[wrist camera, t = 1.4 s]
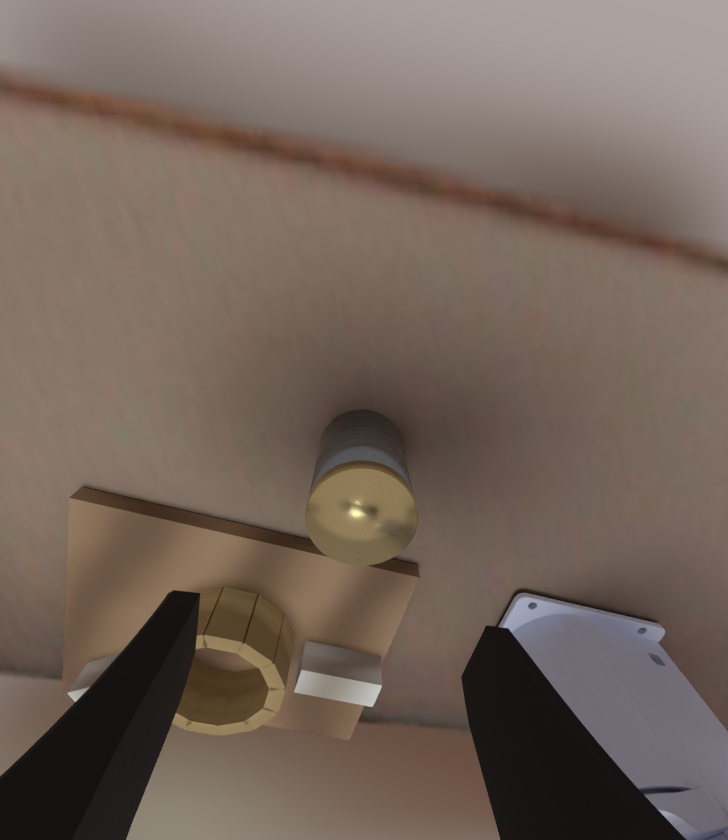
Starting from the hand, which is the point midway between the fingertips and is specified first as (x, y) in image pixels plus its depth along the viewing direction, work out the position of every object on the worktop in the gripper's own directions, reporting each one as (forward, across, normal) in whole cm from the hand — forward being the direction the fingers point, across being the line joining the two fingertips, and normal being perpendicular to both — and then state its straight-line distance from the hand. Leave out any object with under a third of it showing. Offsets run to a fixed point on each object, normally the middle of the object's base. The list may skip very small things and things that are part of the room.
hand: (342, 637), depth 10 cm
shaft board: (+10, +4, +13) cm, 17 cm away
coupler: (+11, -1, 0) cm, 11 cm away
